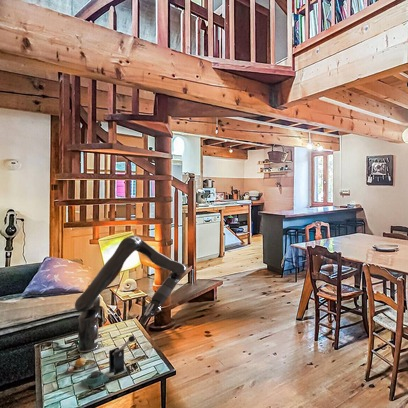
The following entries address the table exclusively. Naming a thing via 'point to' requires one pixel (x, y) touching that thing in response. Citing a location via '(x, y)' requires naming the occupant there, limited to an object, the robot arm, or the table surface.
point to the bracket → (116, 361)
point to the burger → (80, 365)
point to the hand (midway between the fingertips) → (142, 322)
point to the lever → (131, 339)
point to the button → (95, 374)
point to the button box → (95, 380)
